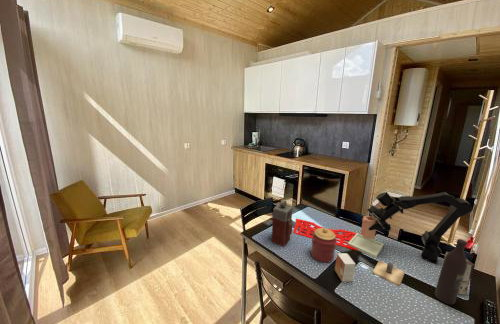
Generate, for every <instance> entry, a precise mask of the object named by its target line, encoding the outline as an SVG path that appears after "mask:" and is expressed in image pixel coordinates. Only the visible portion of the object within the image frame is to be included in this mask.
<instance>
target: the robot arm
mask: <svg viewBox="0 0 500 324" xmlns="http://www.w3.org/2000/svg"><path fill="white" fill-rule="evenodd" d="M376 200H377V201H378V202H379V203H380V204H381V205H382V206H384V208H383V207H380V208H379V207H378V206H375V205H374V204H372V205H371V206H370V207H369V208H368V209H367V212H368V216H372V217H374V218H375V219H376V222H375V224H374V225H372V226H371V227H370V228H369V230H376V231H377V230H386V231H387V232H389V231H391V230H392V227H391V226H390V225H389V224H388V222H387V220H389V219H390V220H392V219H393V216H394V215H396V214H397V213H401V214H404V210H409V209H413V208H415V207H416V206H420V205H427V204H434V203H441V202H442V203H443V202H446V203H447V204H449V205H450V206H449V210H448V212H447V213H446V214H445V216H444V217H443V218H442V219H441V220H440V221H439V222H438V223H437V224H436V225H435V227H434V228H433V229H432V230H429V231H428V230H425V231H424V233H422V234H421V241H422V243H423V245H424V247H423V248H422V252H421V259H422V260H425V261H428V262H431V263H433V264H435V265H436V264H437V263H438V258H439V255H441V254H442V253H443V252H442V250H441V248H440V247H439V245H440V243H441V240H442V237H443V236H444V235H445V234H446V232H448V231H449V229H450V228H451V227H452V226H453V225H454V224H455V223H456V222H457V221H458V220H459V218H461V217H464V216H467V214H468V215H469V213H471V212H472V210H473V205H472V204H471V203H469V201H467V200H466V199H464V198H461V197H459V198H458V197H456V196H454V195H451V194H449V193H447V192H445V191H442V192H439V193H433V194H432V193H431V194H425V195H419V196H410V195H402V196H396V197H395V196H391V195H390V194H389V193H388V191H385V192H382V193H381V192H380V193H379V194H378V195H377V196H376Z"/></svg>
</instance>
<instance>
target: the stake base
mask: <svg viewBox="0 0 500 324" xmlns="http://www.w3.org/2000/svg"><path fill="white" fill-rule="evenodd" d="M372 274H374V275H375V276H377V277H380V278H382V279H383V280H386V281H387V282H390V283H391V284H394V285H396V286H398V287H400V286H401V284H402V281H403V279H404V277H405V271H403V270H401V269H399V268H396V267H394V264H393V263H391V262H388V263H385V262H383V261H381V260H378V262H377V264H376V265H375V266H374V268H373V271H372Z"/></svg>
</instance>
